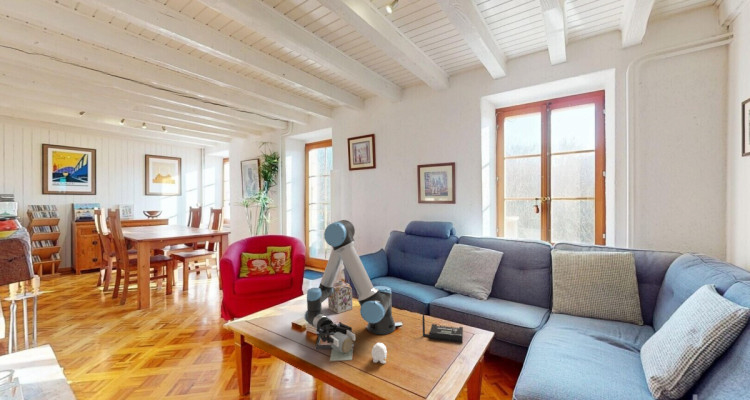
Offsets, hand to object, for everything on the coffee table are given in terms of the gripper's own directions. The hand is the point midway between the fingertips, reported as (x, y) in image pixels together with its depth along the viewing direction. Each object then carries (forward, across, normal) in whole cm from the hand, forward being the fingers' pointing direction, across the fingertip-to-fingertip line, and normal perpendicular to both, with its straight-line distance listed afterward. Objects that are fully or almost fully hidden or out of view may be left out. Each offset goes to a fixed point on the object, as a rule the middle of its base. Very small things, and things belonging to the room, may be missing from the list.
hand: (346, 340), depth 143 cm
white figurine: (+10, -12, -9) cm, 18 cm away
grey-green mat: (-5, 0, -8) cm, 10 cm away
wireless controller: (+13, -50, -9) cm, 53 cm away
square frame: (-20, -3, -8) cm, 22 cm away
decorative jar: (-54, -29, -9) cm, 62 cm away
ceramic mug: (-5, -1, -7) cm, 9 cm away
